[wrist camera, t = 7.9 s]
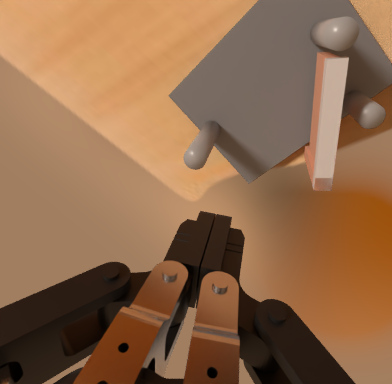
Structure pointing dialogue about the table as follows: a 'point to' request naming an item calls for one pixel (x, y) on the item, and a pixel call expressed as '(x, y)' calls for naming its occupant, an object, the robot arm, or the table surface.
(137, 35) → the table surface
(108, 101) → the table surface
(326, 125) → the gate
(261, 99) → the gate frame
